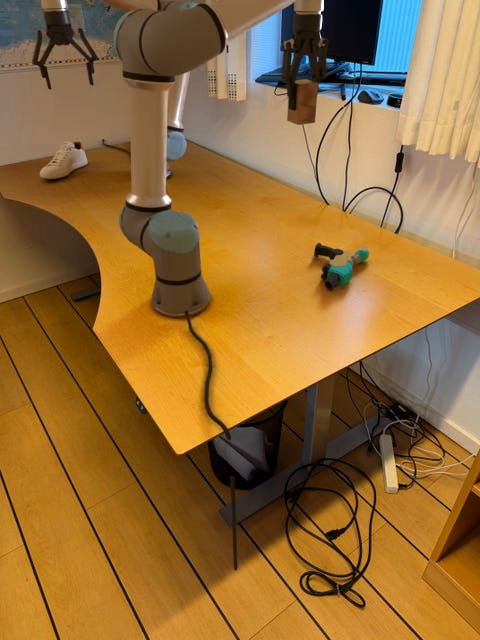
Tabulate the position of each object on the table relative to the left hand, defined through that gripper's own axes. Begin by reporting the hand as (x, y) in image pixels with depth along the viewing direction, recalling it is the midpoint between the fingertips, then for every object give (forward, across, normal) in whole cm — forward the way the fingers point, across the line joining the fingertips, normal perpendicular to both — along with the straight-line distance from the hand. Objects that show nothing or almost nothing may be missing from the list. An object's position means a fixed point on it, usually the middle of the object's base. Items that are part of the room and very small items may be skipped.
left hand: (71, 86), depth 157 cm
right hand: (+2, -54, +56) cm, 78 cm away
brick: (+6, -54, +56) cm, 78 cm away
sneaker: (+41, +3, -43) cm, 59 cm away
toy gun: (+41, -49, +84) cm, 105 cm away
